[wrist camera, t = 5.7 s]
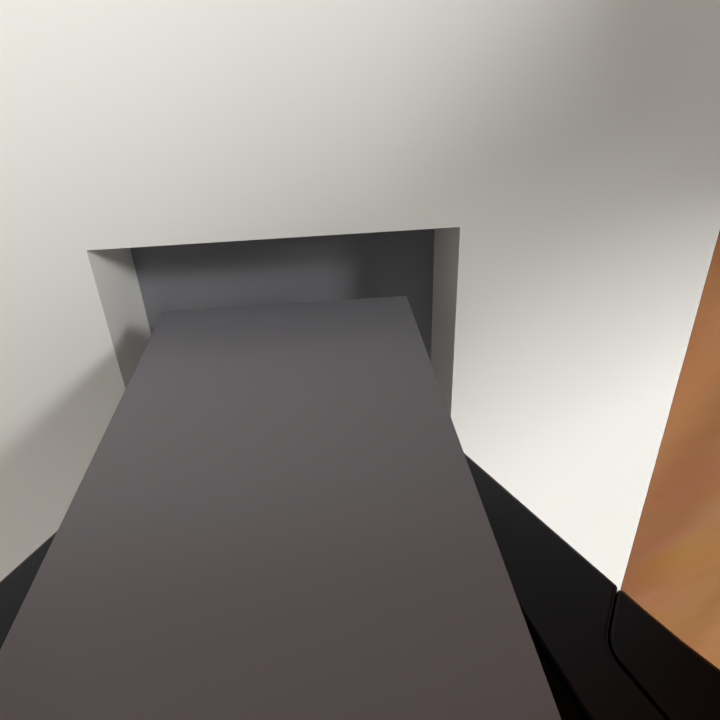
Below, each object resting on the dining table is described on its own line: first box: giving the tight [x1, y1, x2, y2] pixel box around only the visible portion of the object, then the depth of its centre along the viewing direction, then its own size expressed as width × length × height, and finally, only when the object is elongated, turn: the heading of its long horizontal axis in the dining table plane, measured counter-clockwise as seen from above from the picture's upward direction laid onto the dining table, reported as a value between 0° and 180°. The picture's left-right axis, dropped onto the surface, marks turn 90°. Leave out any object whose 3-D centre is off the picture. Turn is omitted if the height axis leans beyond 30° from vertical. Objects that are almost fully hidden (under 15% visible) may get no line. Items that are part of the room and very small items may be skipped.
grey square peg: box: [0, 296, 561, 720], centre depth 8 cm, size 4×4×7 cm
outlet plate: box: [0, 0, 720, 591], centre depth 12 cm, size 15×15×3 cm
